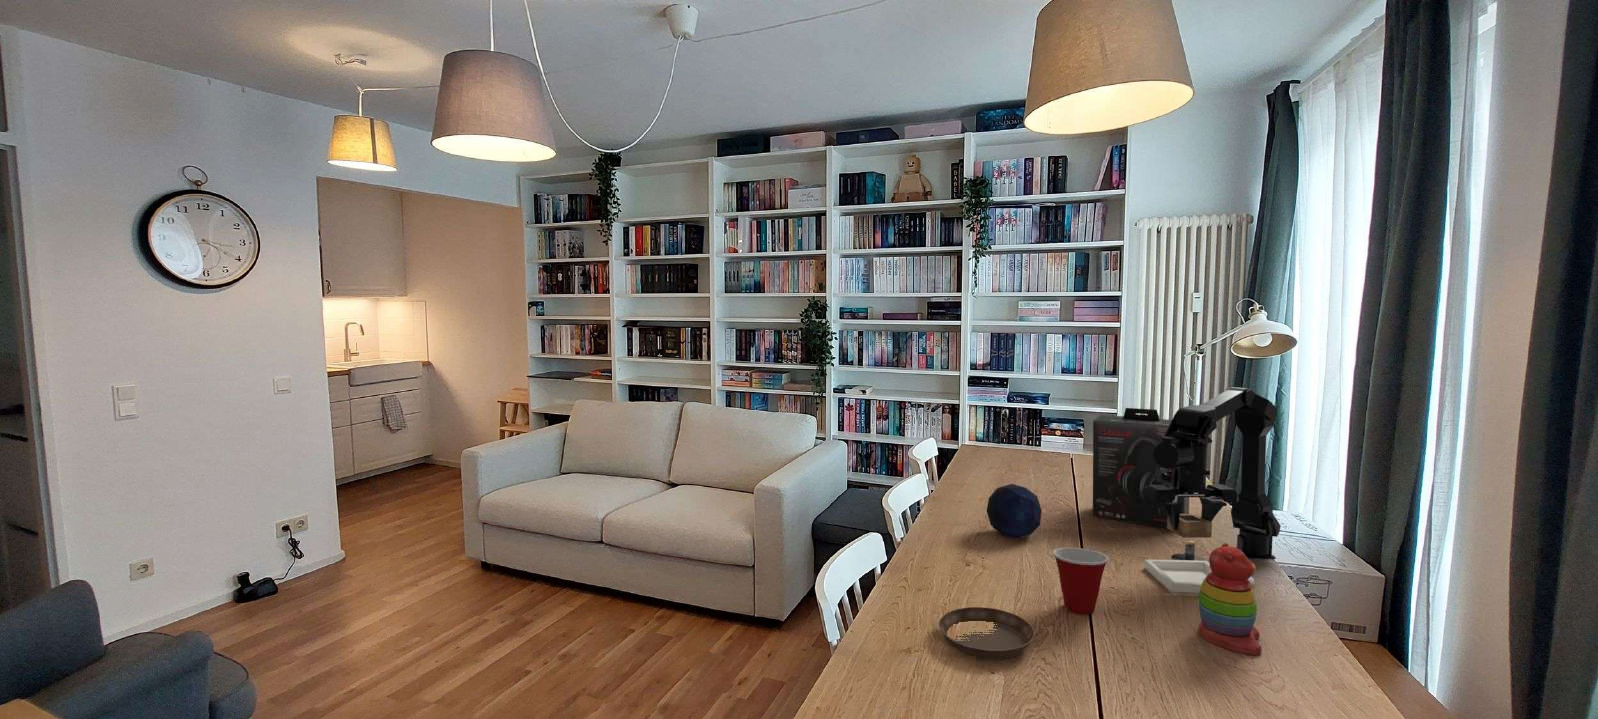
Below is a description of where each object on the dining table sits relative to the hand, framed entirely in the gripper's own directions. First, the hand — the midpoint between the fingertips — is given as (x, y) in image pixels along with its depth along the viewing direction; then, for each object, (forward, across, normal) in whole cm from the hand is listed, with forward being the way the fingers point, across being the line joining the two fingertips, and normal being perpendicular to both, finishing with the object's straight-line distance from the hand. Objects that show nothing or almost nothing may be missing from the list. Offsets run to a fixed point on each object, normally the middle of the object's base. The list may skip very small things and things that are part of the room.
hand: (1189, 529), depth 152 cm
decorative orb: (+12, +30, -31) cm, 45 cm away
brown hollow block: (+1, 0, 0) cm, 1 cm away
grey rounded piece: (+11, -7, -10) cm, 17 cm away
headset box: (+11, -12, -43) cm, 46 cm away
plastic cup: (+12, +31, +13) cm, 36 cm away
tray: (+12, 0, +2) cm, 12 cm away
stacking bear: (+12, +9, +27) cm, 31 cm away
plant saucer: (+13, +55, +26) cm, 62 cm away
